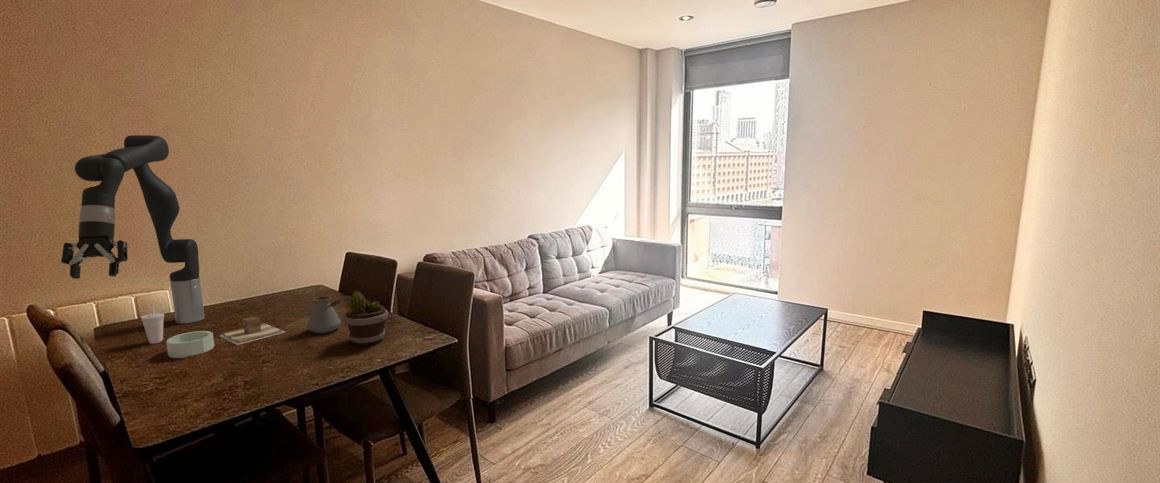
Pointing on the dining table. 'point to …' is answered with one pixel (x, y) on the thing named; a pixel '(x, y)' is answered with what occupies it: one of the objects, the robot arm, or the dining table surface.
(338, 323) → the coffee pot
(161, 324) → the smoothie
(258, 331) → the lid
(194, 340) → the bowl
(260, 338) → the tray
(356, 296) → the flowerpot
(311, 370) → the dining table surface
